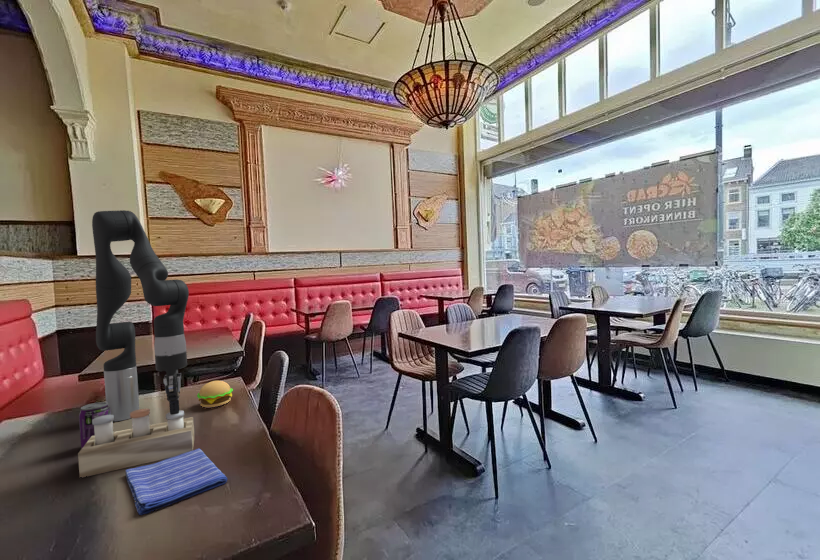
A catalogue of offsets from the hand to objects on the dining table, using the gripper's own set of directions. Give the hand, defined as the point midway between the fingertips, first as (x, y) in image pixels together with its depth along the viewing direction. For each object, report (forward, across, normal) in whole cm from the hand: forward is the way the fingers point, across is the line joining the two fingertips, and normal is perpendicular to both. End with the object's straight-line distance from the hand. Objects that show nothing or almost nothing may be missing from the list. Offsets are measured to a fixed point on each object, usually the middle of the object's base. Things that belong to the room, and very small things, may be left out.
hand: (174, 413), depth 109 cm
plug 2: (+8, 0, 0) cm, 8 cm away
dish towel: (+11, +20, +1) cm, 23 cm away
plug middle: (+5, 0, -8) cm, 10 cm away
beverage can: (+10, -15, -21) cm, 28 cm away
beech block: (+10, 0, -8) cm, 13 cm away
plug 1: (+5, 0, -16) cm, 17 cm away
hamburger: (+10, -36, +10) cm, 39 cm away
